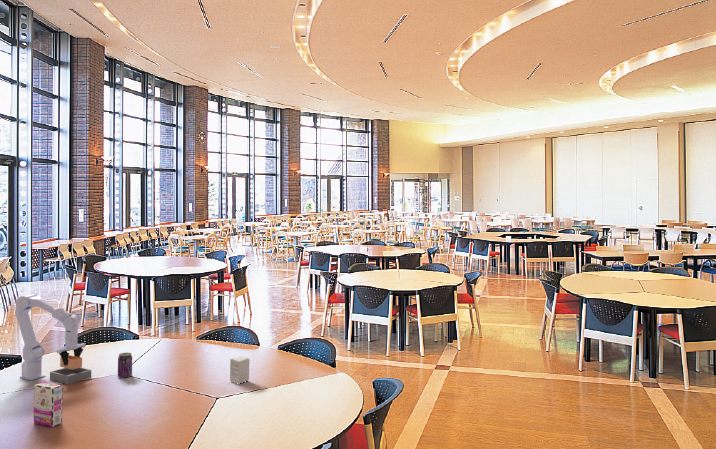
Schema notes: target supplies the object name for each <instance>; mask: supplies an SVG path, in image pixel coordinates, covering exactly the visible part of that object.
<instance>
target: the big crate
mask: <svg viewBox="0 0 716 449" xmlns="http://www.w3.org/2000/svg"><path fill="white" fill-rule="evenodd" d="M90 378H92V369H90V368H85V367H83V366H82V367H81V368H77V369H73V370H72V369H68V368H64V367H61V368H59V369H54V370H51V371H49V379H50V380H52V381H54V382H59V383H62V384H66V385H70V384H74V383H77V382H80V381H83V380H87V379H90Z"/></svg>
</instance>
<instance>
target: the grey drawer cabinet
mask: <svg viewBox="0 0 716 449" xmlns="http://www.w3.org/2000/svg"><path fill="white" fill-rule="evenodd" d="M229 360H230V364H229V366H230V367H229V370H230V371H229V382H230V381H231V382H230V383H232V382H234V383H233V384H235V383H238V384H240V383H243V382H245V381H248V380H249V381H250V358H249V357H247V356H242V355H239V356H236V357H233V358H230V359H229ZM249 381H248V382H249ZM245 383H246V382H245ZM238 384H237V385H238ZM243 384H244V383H243ZM240 385H241V384H240Z"/></svg>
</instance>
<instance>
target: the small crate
mask: <svg viewBox="0 0 716 449" xmlns="http://www.w3.org/2000/svg"><path fill="white" fill-rule="evenodd" d="M59 361H60V362H59V367H60V368H68V369H72V370H73V369H77V368H81V367H82V368H83V357H81V356H80V357H77V356H74V354H69V356H68V365H67V366H66V365H64V364H63V360H62V358H61V356H60V360H59Z"/></svg>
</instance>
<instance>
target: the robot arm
mask: <svg viewBox="0 0 716 449" xmlns="http://www.w3.org/2000/svg"><path fill="white" fill-rule="evenodd" d="M14 303H15V312H14V314H15V317H16V320H17V323H18V326H19V330H20V332H21V337H22V340H23V344H24V346H23V348H22V349H21V350H22V359H23V362H22V364H21V376H19V378H20V379H24V380H27V381H33V380H37V379H41V378H44V377H46V375H45V374H42V372H43V371H42V368H43V367H42V365H43V364H42V362H43V361H42V360H43V357H44V355H45V353H46V351H45V348H44V347H43V346H42V343H41V342H40V341H38V340H37V337H36V334H35V331H34V327H33V324H32V321H31V318H30V315H29V312H30V311H31V309H32V308H36V307H38V308H40V309H42V310H44V311H46V312H48V313H50V314H51V317H52V318H54V319H55V320H57V321H59V322H60V323H61V324H62V325H63V327H64V330H65V332H64V334H65V335H64V346H63V347H59V348H57V349H56V354H59V356H60V357H61V358H62V360H63V364H64V365H66V366H67V365H68V356H69V355H70V353H69V351H70V352H71V351H73V356H77V357H81V354H82V353H83V351H84V348H86V343H84V342H82V343H78V334H79V332H78V330H79V329H78V327H79V326H78V325H79V324H80V322H81V318H80V316H79V315H77V314H72V313H71V312H69V311H67V310H65V308H64V307H55V306H54V305H52V304H51V303H49V302H48V301H46V300H45V299H44V298H42V297H41V295H38V294H36V293H29V294H26V295H20V296H19V297H17V299H16V301H14Z"/></svg>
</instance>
